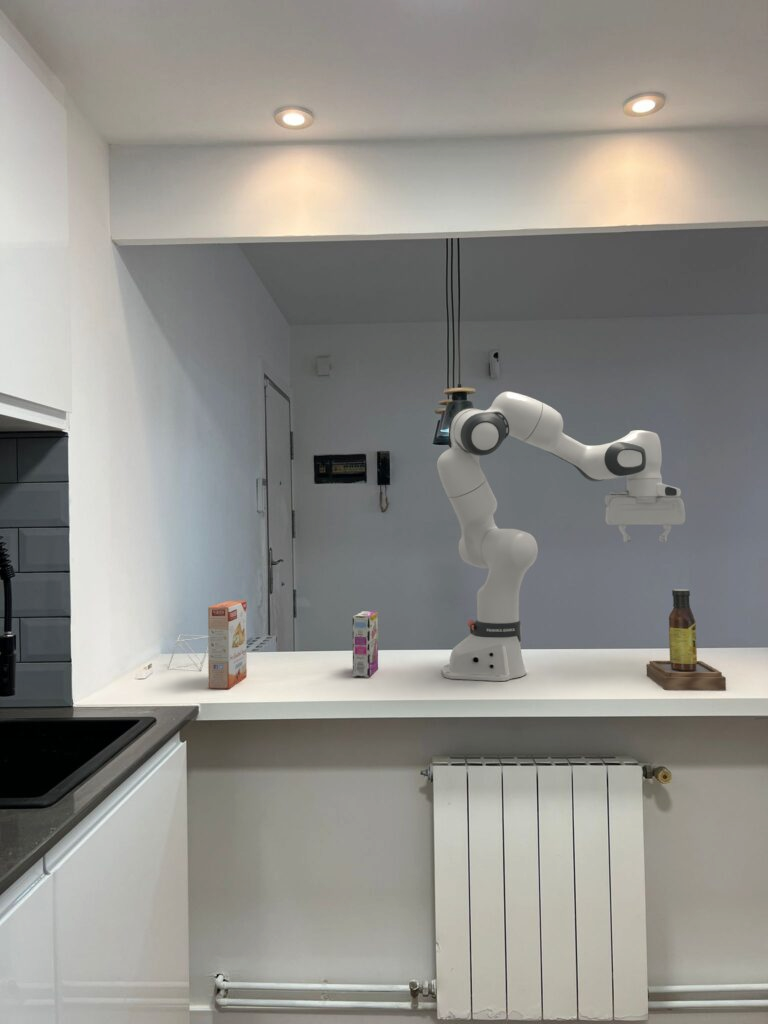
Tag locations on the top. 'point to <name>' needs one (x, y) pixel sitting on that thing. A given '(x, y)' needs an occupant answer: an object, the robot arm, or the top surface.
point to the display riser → (685, 677)
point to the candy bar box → (365, 644)
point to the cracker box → (227, 644)
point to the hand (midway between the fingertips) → (644, 541)
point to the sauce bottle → (682, 633)
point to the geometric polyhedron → (187, 654)
